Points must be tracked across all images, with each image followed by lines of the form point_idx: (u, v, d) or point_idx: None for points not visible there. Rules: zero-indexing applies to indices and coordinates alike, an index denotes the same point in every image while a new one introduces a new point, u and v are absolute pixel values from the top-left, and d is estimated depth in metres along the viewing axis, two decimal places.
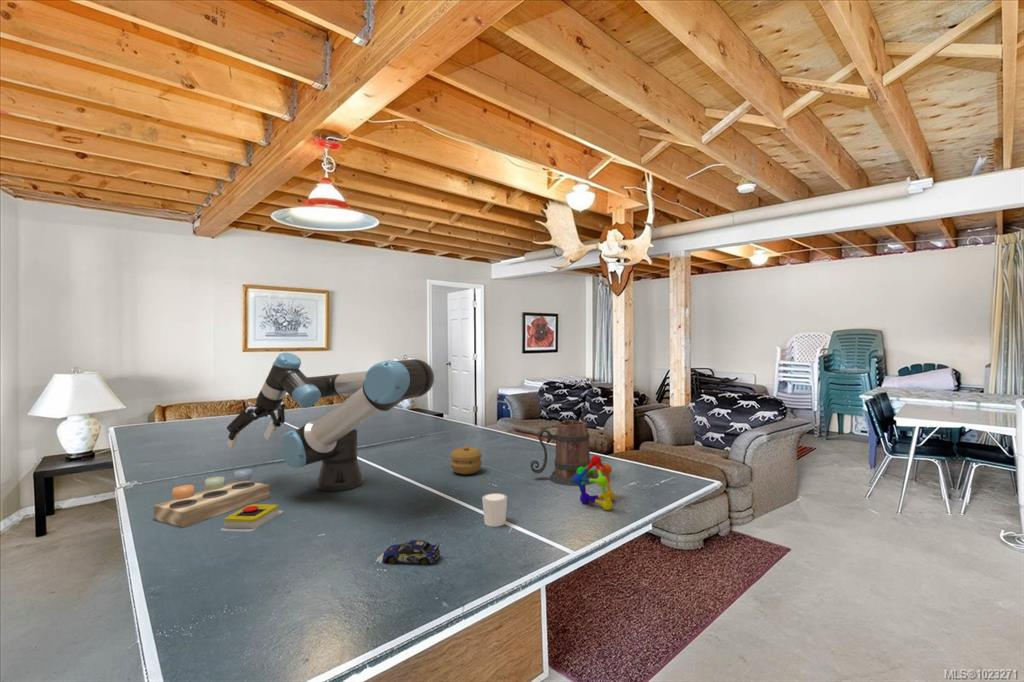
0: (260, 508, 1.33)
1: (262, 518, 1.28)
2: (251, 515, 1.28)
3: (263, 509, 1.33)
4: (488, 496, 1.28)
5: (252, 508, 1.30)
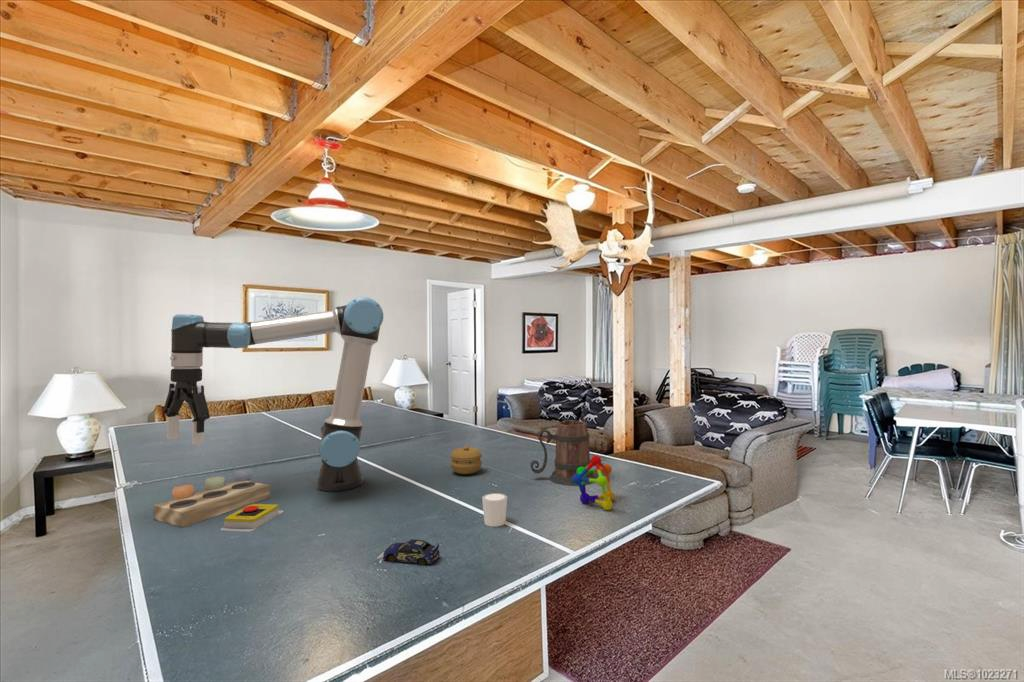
0: (260, 508, 1.33)
1: (261, 518, 1.28)
2: (251, 515, 1.28)
3: (264, 509, 1.33)
4: (488, 496, 1.28)
5: (252, 508, 1.30)
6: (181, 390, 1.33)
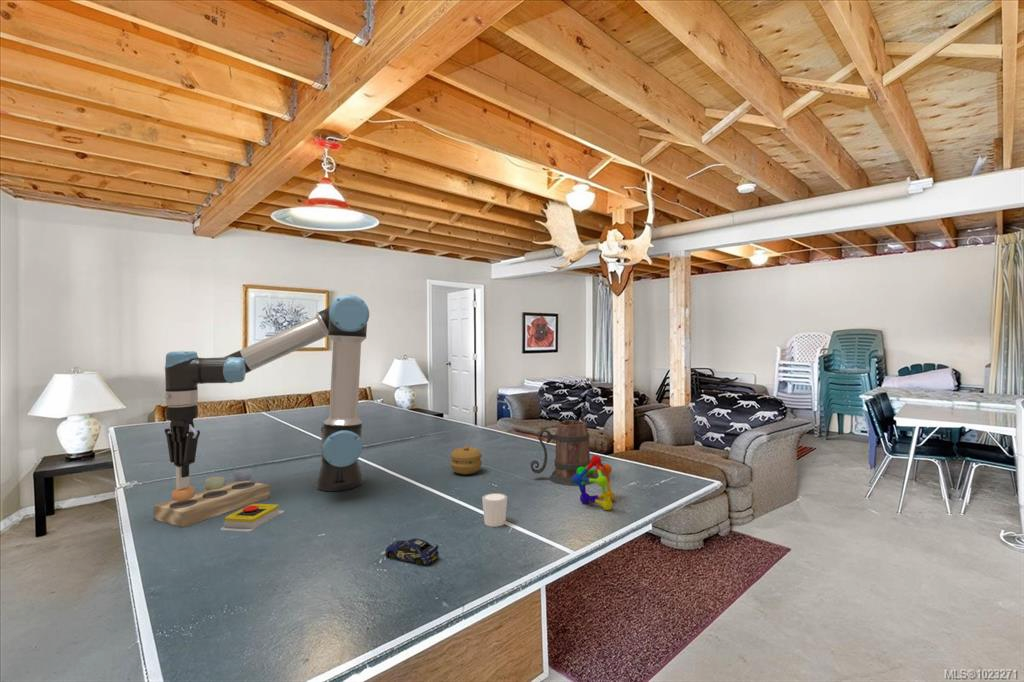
0: (260, 508, 1.33)
1: (261, 518, 1.28)
2: (251, 515, 1.28)
3: (264, 508, 1.33)
4: (488, 496, 1.28)
5: (252, 508, 1.30)
6: (177, 429, 1.31)
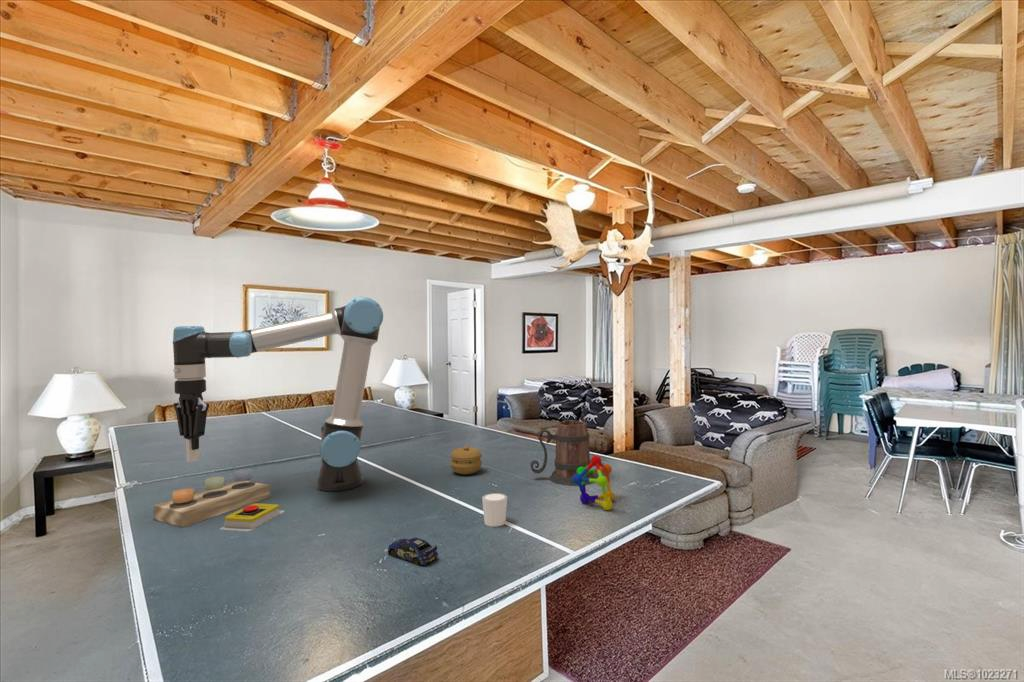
0: (260, 507, 1.34)
1: (261, 518, 1.28)
2: (250, 515, 1.28)
3: (264, 508, 1.33)
4: (488, 496, 1.28)
5: (252, 508, 1.30)
6: (187, 402, 1.33)
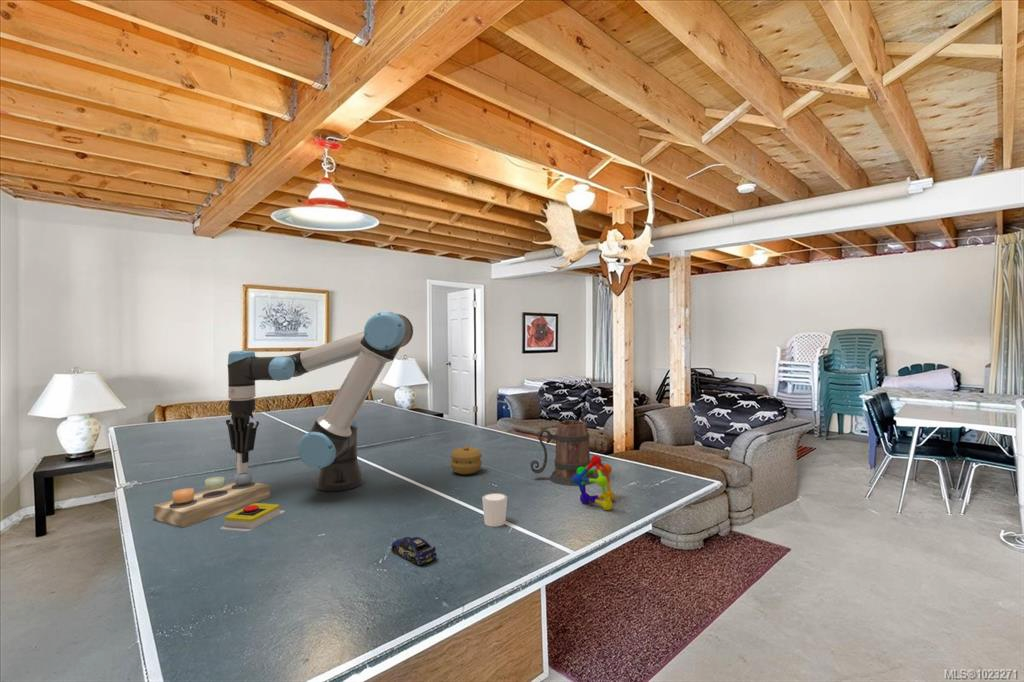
0: (261, 507, 1.34)
1: (260, 518, 1.28)
2: (250, 515, 1.28)
3: (264, 508, 1.33)
4: (488, 496, 1.28)
5: (252, 507, 1.30)
6: (239, 420, 1.47)
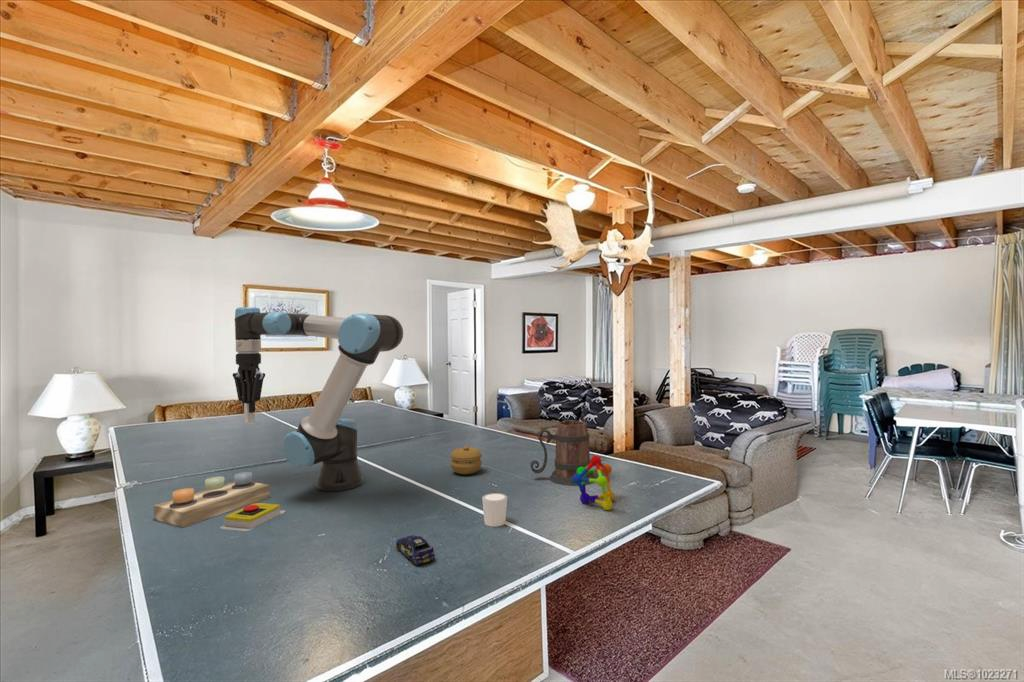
0: (261, 507, 1.34)
1: (260, 518, 1.28)
2: (250, 514, 1.28)
3: (264, 508, 1.33)
4: (488, 496, 1.28)
5: (252, 507, 1.30)
6: (246, 372, 1.57)
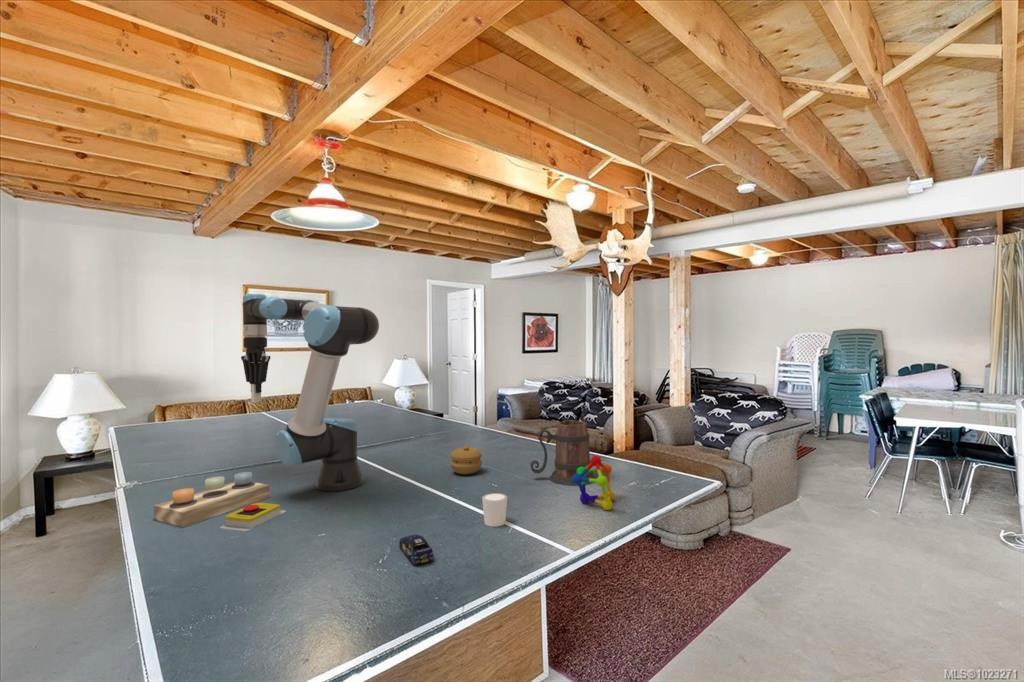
0: (261, 507, 1.34)
1: (259, 518, 1.28)
2: (250, 514, 1.28)
3: (264, 508, 1.33)
4: (488, 496, 1.28)
5: (252, 507, 1.30)
6: (253, 354, 1.67)
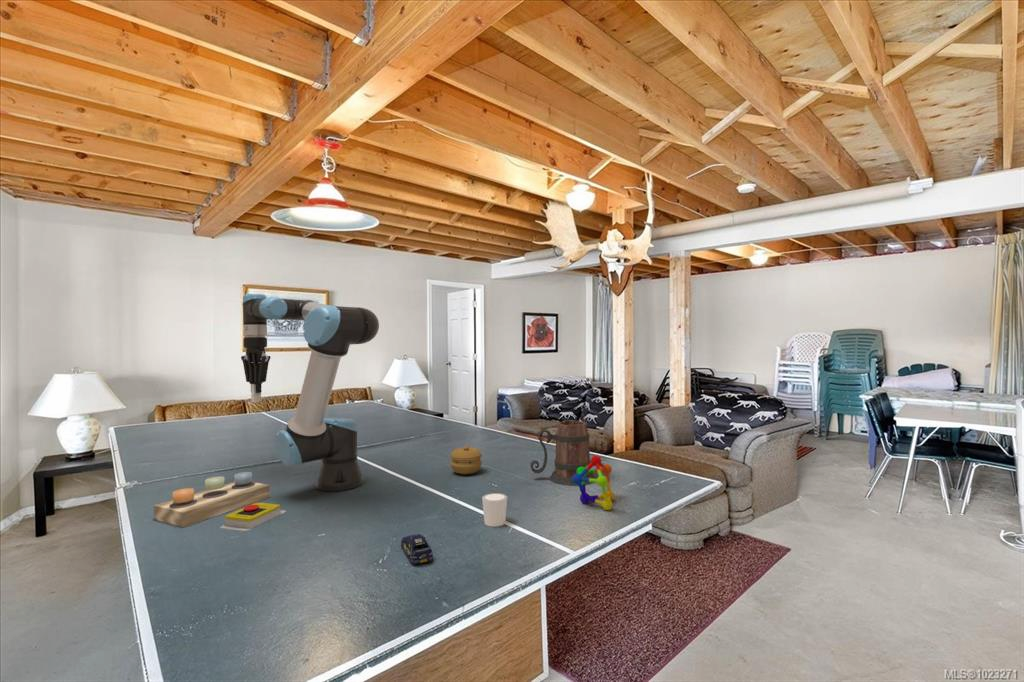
0: (262, 507, 1.34)
1: (259, 518, 1.28)
2: (250, 514, 1.28)
3: (264, 508, 1.33)
4: (488, 496, 1.28)
5: (252, 507, 1.31)
6: (253, 354, 1.67)
